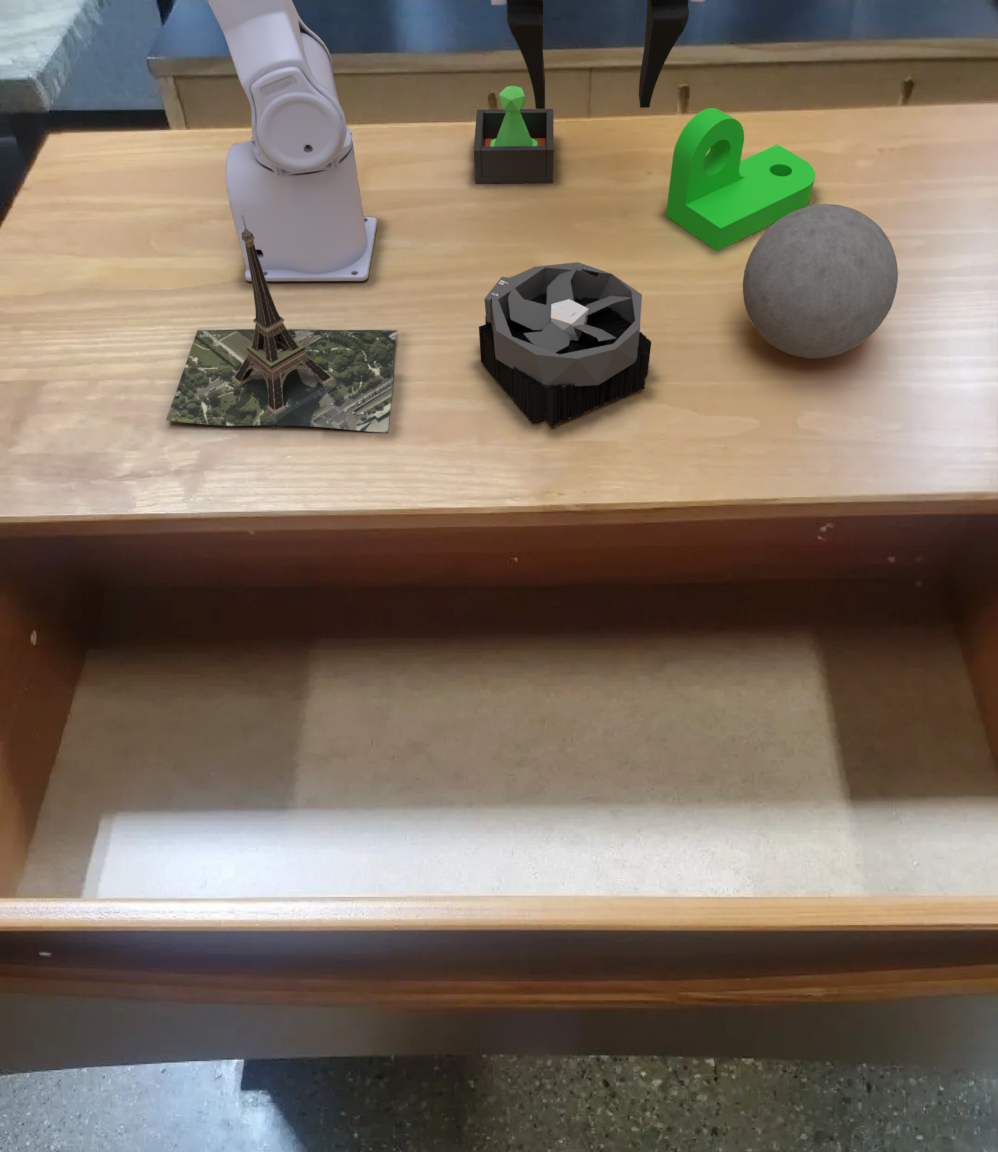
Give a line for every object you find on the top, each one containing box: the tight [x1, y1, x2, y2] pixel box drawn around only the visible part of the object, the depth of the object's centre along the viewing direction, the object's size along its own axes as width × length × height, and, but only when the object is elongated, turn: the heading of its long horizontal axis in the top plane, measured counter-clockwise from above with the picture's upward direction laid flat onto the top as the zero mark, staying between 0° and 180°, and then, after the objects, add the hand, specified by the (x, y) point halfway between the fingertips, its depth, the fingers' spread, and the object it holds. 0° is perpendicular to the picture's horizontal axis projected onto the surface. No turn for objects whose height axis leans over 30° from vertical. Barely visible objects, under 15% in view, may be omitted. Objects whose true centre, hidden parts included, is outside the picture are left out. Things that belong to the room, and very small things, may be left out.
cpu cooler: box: [478, 261, 652, 428], centre depth 69 cm, size 10×6×10 cm
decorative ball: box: [742, 203, 899, 359], centre depth 69 cm, size 10×10×10 cm
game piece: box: [490, 85, 537, 147], centre depth 85 cm, size 4×4×6 cm
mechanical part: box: [665, 107, 816, 252], centre depth 80 cm, size 12×6×8 cm, turn 125°
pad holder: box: [473, 108, 555, 184], centre depth 87 cm, size 7×7×3 cm
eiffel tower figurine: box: [166, 215, 398, 434], centre depth 66 cm, size 15×10×13 cm
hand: (592, 101), depth 76 cm, fingers open, 7 cm apart
